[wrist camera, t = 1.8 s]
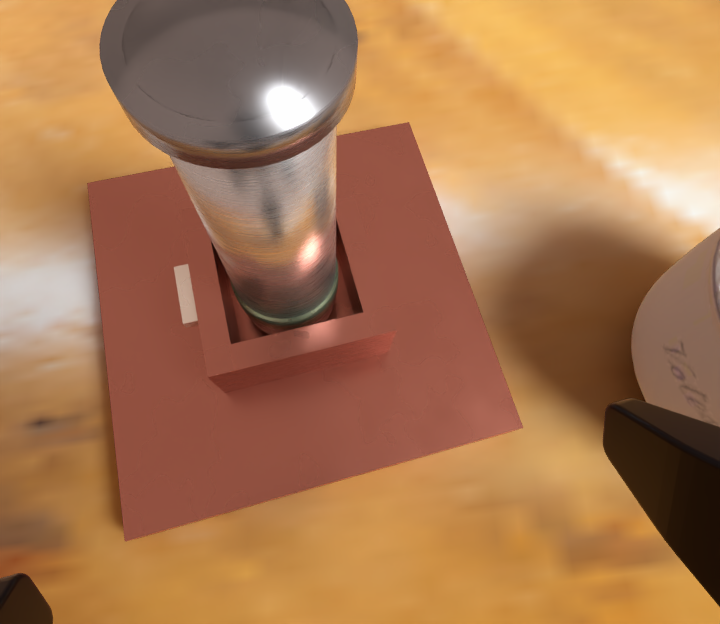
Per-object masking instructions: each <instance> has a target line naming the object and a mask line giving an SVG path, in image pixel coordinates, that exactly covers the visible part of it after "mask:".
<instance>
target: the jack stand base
mask: <svg viewBox="0 0 720 624" xmlns="http://www.w3.org/2000/svg"><path fill="white" fill-rule="evenodd" d="M87 184H88V193H89V203H90V213H91V222H92V232H93V241H94V251H95V260H96V270H97V279H98V289H99V299H100V308H101V318H102V327H103V337H104V346H105V356H106V366H107V375H108V385H109V394H110V404H111V413H112V423H113V432H114V442H115V452H116V461H117V471H118V480H119V490H120V499H121V509H122V518H123V528H124V538H125V541H129V540H133V539H138V538H141V537H145V536H148V535H152V534H155V533H159V532H162V531H166V530H169V529H173V528H176V527H180V526H183V525H187V524H190V523H193V522H197V521H200V520H204V519H207V518H211V517H214V516H218V515H221V514H225V513H228V512H232V511H235V510H239V509H242V508H246V507H249V506H253V505H256V504H260V503H263V502H267V501H270V500H274V499H277V498H281V497H284V496H288V495H291V494H295V493H298V492H302V491H305V490H309V489H312V488H316V487H319V486H323V485H326V484H330V483H333V482H337V481H340V480H344V479H347V478H351V477H354V476H358V475H361V474H365V473H368V472H372V471H375V470H379V469H382V468H386V467H389V466H393V465H396V464H400V463H403V462H407V461H410V460H414V459H417V458H421V457H424V456H428V455H431V454H435V453H438V452H442V451H445V450H449V449H452V448H456V447H459V446H463V445H466V444H470V443H473V442H477V441H480V440H484V439H487V438H491V437H494V436H498V435H501V434H505V433H508V432H512V431H515V430H518V429H521V428H523V426H522V423H521V421H520V418H519V415H518V413H517V410H516V407H515V405H514V402H513V399H512V397H511V394H510V391H509V389H508V386H507V383H506V381H505V378H504V375H503V373H502V370H501V367H500V364H499V362H498V359H497V356H496V354H495V351H494V348H493V346H492V343H491V340H490V338H489V335H488V332H487V330H486V327H485V324H484V322H483V319H482V316H481V314H480V311H479V308H478V306H477V303H476V300H475V298H474V295H473V292H472V290H471V287H470V284H469V282H468V279H467V276H466V274H465V271H464V268H463V266H462V263H461V260H460V257H459V255H458V252H457V249H456V247H455V244H454V241H453V239H452V236H451V233H450V231H449V228H448V225H447V223H446V220H445V217H444V215H443V212H442V209H441V207H440V204H439V201H438V199H437V196H436V193H435V191H434V188H433V185H432V183H431V180H430V177H429V175H428V172H427V169H426V167H425V164H424V161H423V159H422V156H421V153H420V150H419V148H418V145H417V142H416V140H415V137H414V134H413V132H412V129H411V126H410V124H409V122H408V123H403V124H397V125H392V126H387V127H381V128H376V129H371V130H366V131H360V132H355V133H350V134H344V135H339V136H336V258H337V263H338V289H337V293H336V298H335V304H334V308H333V310H332V312H331V314H330V316H329V318H328V319H327V320H326V322H321V323H317V324H313V325H309V326H305V327H301V328H296V329H292V330H288V331H284V332H280V333H276V334H271V335H269V334H267V333H265V332H263V331H262V330H260V329H259V328H258V327H257V326H256V325H255V324H254V323H253V322H252V321H251V319H250V318H249V316H248V315H247V314H246V312H245V311H244V310H243V309H242V307H241V305H240V304H239V302H238V300H237V298H236V296H235V294H234V291H233V289H232V286H231V282H230V278H229V276H228V274H227V271H226V269H225V267H224V265H223V263H222V261H221V259H220V257H219V255H218V253H217V251H216V249H215V247H214V245H213V243H212V241H211V239H210V237H209V235H208V233H207V231H206V229H205V227H204V225H203V223H202V221H201V219H200V217H199V215H198V213H197V211H196V209H195V206H194V204H193V202H192V200H191V198H190V196H189V194H188V192H187V190H186V188H185V186H184V184H183V182H182V180H181V178H180V176H179V174H178V172H177V170H176V168H175V167H170V168H165V169H160V170H154V171H149V172H144V173H138V174H133V175H128V176H123V177H117V178H112V179H107V180H101V181H96V182H91V183H87Z"/></svg>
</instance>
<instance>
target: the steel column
mask: <svg viewBox="0 0 720 624" xmlns="http://www.w3.org/2000/svg"><path fill="white" fill-rule="evenodd" d="M357 49H358V38H357V29H356V25H355V21H354V18H353V15H352V13H351V11H350V9H349V6H348V5H347V3H346V2H345V0H117V1H116V2H115V4H114V5H113V7H112V8H111V10H110V12H109V14H108V16H107V18H106V20H105V23H104V26H103V29H102V32H101V38H100V59H101V64H102V68H103V72H104V74H105V76H106V79H107V81H108V83H109V85H110V87H111V89H112V91H113V92H114V94H115V96H116V98H117V100H118V101H119V103H120V105H121V107H122V109H123V110H124V112H125V114H126V116H127V117H128V119H129V120H130V122H131V124H132V125H133V126H134V128H135V129H136V130H137V131H138V132H139V133H140V134H141V135H142V136H143V137H144V138H145V139H146V140H147V141H148V142H150V143H151V144H152V145H153V146H155V147H156V148H158V149H160V150H161V151H163V152H164V153H166V154H168V155H169V156H170V158H171V160H172V162H173V164H174V166H175V168H176V170H177V172H178V174H179V176H180V178H181V180H182V182H183V184H184V186H185V188H186V190H187V192H188V194H189V196H190V198H191V200H192V202H193V204H194V206H195V209H196V211H197V213H198V215H199V217H200V219H201V221H202V223H203V225H204V227H205V229H206V231H207V233H208V235H209V237H210V239H211V241H212V243H213V245H214V247H215V249H216V251H217V253H218V255H219V257H220V259H221V261H222V263H223V265H224V267H225V269H226V271H227V274H228V276H229V278H230V282H231V286H232V289H233V291H234V294H235V296H236V298H237V300H238V302H239V304H240V305H241V307H242V309H243V310H244V311H245V312H246V314H247V315H248V316H249V318H250V319H251V321H252V322H253V323H254V324H255V325H256V326H257V327H258V328H259V329H260V330H262V331H263V332H265V333H267V334H269V335H271V334H276V333H280V332H284V331H288V330H292V329H296V328H301V327H305V326H309V325H313V324H317V323H321V322H326V320H327V319H328V318H329V316H330V314H331V312H332V310H333V308H334V304H335V298H336V293H337V289H338V263H337V258H336V134H337V124H338V123H339V122H340V120H341V119H342V117H343V116H344V114H345V113H346V111H347V109H348V107H349V105H350V102H351V100H352V97H353V93H354V89H355V83H356V68H357Z"/></svg>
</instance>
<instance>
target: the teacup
mask: <svg viewBox="0 0 720 624" xmlns="http://www.w3.org/2000/svg"><path fill="white" fill-rule="evenodd" d="M631 351H632V360H633V365H634V370H635V375H636V378H637V381H638V384H639V387H640V389H641V392H642V394H643V396H644V398H645V400H646V402H647V403H650V404H653V405H656V406H659V407H662V408H665V409H668V410H671V411H674V412H677V413H680V414H683V415H686V416H689V417H692V418H695V419H698V420H701V421H704V422H707V423H710V424H713V425H716V426H719V427H720V228H719V229H718V230H717V231H715V232H714V233H713V234H711V235H710V236H709V237H707V238H706V239H705V240H703V241H702V242H701V243H699V244H698V245H697V246H695V247H694V248H693V249H692V250H691V251H689V252H688V253H687V254H686V255H684V256H683V257H682V258H681V259H680V260H678V261H677V262H676V263H675V264H674V265H673V266H671V267H670V268H669V269H668V270H667V271H666V272H665V273H664V274H663V275H662V276H661V277H660V278H659V279H658V280H657V281H656V282H655V283H654V285H653V286H652V287H651V289H650V290H649V291H648V293H647V294H646V296H645V298H644V299H643V301H642V303H641V305H640V307H639V309H638V312H637V314H636V318H635V321H634V325H633V330H632V343H631Z"/></svg>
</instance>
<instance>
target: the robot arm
mask: <svg viewBox="0 0 720 624" xmlns="http://www.w3.org/2000/svg"><path fill="white" fill-rule="evenodd" d="M603 447H604V450H605V453H606V455H607V457H608V459H609V460H610V462H611V463H612V465H613V466H614V467H615V469H616V470H617V472H618V473H619V475H620V476H621V478H622V479H623V481H624V482H625V484H626V485H627V486H628V488H629V489H630V491H631V492H632V494H633V495H634V497H635V498H636V500H637V501H638V502H639V504H640V505H641V507H642V508H643V510H644V511H645V513H646V514H647V516H648V517H649V519H650V520H651V521H652V523H653V524H654V526H655V527H656V529H657V530H658V531H659V533H660V534H661V536H662V537H663V538H664V540H665V541H666V542H667V543H668V545H669V546H670V547H671V548H672V550H673V551H674V552H675V554H676V555H677V556H678V557H679V558H680V560H681V561H682V562H683V563H684V564H685V566H686V567H687V568H688V569H689V570H690V572H691V573H692V574H693V575H694V576H695V578H696V579H697V580H698V581H699V583H700V584H701V585H702V586H703V587H704V589H705V590H706V591H707V592H708V593H709V595H710V596H711V597H712V598H713V599H714V601H715V602H716V603H717V604H718V605H719V607H720V427H719V426H716V425H713V424H710V423H707V422H704V421H701V420H698V419H695V418H692V417H689V416H686V415H683V414H680V413H677V412H674V411H671V410H668V409H665V408H662V407H659V406H656V405H653V404H650V403H647V402H644V401H641V400H638V399H634V398H628V399H624V400H621V401H617V402H614V403H611V404H609V405H608V406H607V408H606V411H605V421H604V433H603ZM0 624H53V616H52V611H51V608H50V606H49V605H48V603H47V602H46V600H45V599H44V597H43V596H42V594H41V593H40V592H39V590H38V589H37V587H36V586H35V584H34V583H33V581H32V580H31V578H30V577H29V576H28V575H26V574H23V573H18V574H14V575H10V576H7V577H3V578H0Z"/></svg>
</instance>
